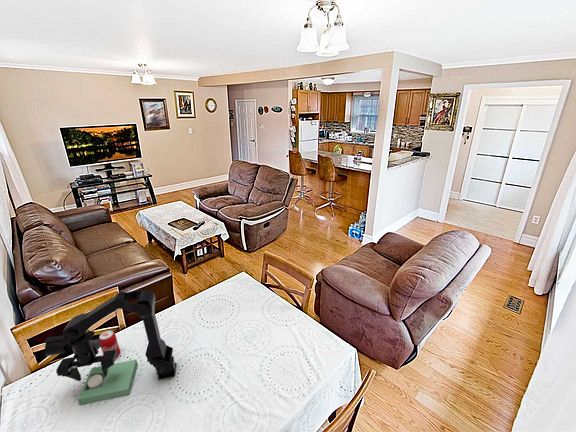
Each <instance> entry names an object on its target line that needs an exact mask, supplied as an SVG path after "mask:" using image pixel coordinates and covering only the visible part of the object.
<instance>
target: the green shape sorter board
mask: <svg viewBox="0 0 576 432" xmlns="http://www.w3.org/2000/svg"><path fill="white" fill-rule="evenodd" d="M138 364H139V363H138V361H137V359H131V360H126V361H120V362H114V365H112V366H111V367H109V368H108V374H107V376H105V375H104V373H103V371H102V369H101V368H102V366H101V365H100V366H94V367H91V369H90V371H89V373H88V376H87V377H86V380H85V382H84V384H83V387H82V389H81V391H80V393H79V396H78V398H77V402H78V404H79V406H83V405H87V404H92V403H96V402H100V401H105V400H106V401H107V400H110V399H115V398H119V397H125V396H129V395H130V394H131V390H132V387H133V383H134V379H135V375H136V372H137V369H138ZM94 375H101V376H102V378H103V382H102V384H101V386H100V387H98V388H94V389H90V388H89V387H88V381H89V379H90V378H91V377H92V376H94Z"/></svg>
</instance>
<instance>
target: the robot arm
mask: <svg viewBox="0 0 576 432" xmlns="http://www.w3.org/2000/svg"><path fill="white" fill-rule="evenodd" d="M133 300H136V301H135V303H132V302H130V301H133ZM155 306H156V294H155V292H154V291H151V290H141V289H140V290H139V289H137V290H131V291H125V292H124V291H121V292H120V291H119V292H117V293H116V294H115V295H114V296H112V297H110V298H109V299H108V300H106V301H103V302H102V303H101V304H99V305H98V306H96V307H94V308H93V309H91V310H90V311H89V312H88V311H87V312H85V313H84V312H83V313H80V314H77V315H76V316H73V317H72V318H70V320H69V322H68V323H67V325H66V326H65V328H64V329H63V331H62V335H57V336H56V335H55V336H48V337H47V338H46V339H45V341H44V343H45V345H44V355H45V356H46V357H50V356H56V355H62V354H67V353H68V352H69V351H70V350H71V349H72V351H73V354H74V355H73V356H72V357H66V358H62V360H61V361H60V363H59V364H58V366H57V368H56V372H55V373H56V375H57V376H58V377H61V376H62V377H66V378H70V379H72V380H75V381H78V382H81V381H82V375H81V372H80V371H79V368H83V367H88V366H92V365H93V364H95V363H96V364H97V363H100V366H102V368H101V369H102V371H103V373H104V375H105V376H107V374H108V368H109V367H111V366H112V365H114V363H116V359H117V357H118V356H117V351H116V350H110V351H105V352H104V354H103V353H102V354H101V355H98V354H99V350H100V348H101V342H100V339H99V338H96V339H93V338H94V336H95V334H96V331H94V330H89V329H90V328H91V327H92V326H93V325H96V323H97V322H99V321H101V320H103V319H104V318H106V317H107V316H109V315H110V314H112V313H114V312H115V311H117V310H119V309H120V310H125V311H127V312H128V313H134V314H135V313H136V314H137V316H138V317H140V319H142V322H143V326H144V330H145V334H146V338H147V342H148V343H147V347H146V350H145V357H146V359H147V360H146V362H147V363H149V364H150V366H153V367H154V369H155V371H156V375H157V380H165V379H168V378H173V377H176V368H177V362H176V361H175V358H174V356H173V353H174V352H173V351H174V347H172V346H170V345H167V344H166V342H165V340H164V339H162V338H161V333H160V329H159V325H158V322H157V321H158V320H157V317H156V316H157V315H156V312H155Z"/></svg>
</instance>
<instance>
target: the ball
mask: <svg viewBox="0 0 576 432" xmlns="http://www.w3.org/2000/svg"><path fill="white" fill-rule="evenodd" d="M103 383H104V378H102V376H101V375H94V376H92V377H91V378H90V379H89V381H88V387H89V388H90V389H94V388H99V387H102V385H103Z"/></svg>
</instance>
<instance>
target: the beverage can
mask: <svg viewBox="0 0 576 432" xmlns="http://www.w3.org/2000/svg"><path fill="white" fill-rule="evenodd" d="M98 339H100V342H101V347H100V348H101V349H100V350H101V352H102V355H103V354H104V352H105V351H110V350H116V351H117V357H118V356H119V355H120V353H121V348H120V346H119V342H118V339H117V336H116V333H115V332H114V331H113V330H110V329H109V330H105V331H103V332H102V333H100V334H99V338H98Z"/></svg>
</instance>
